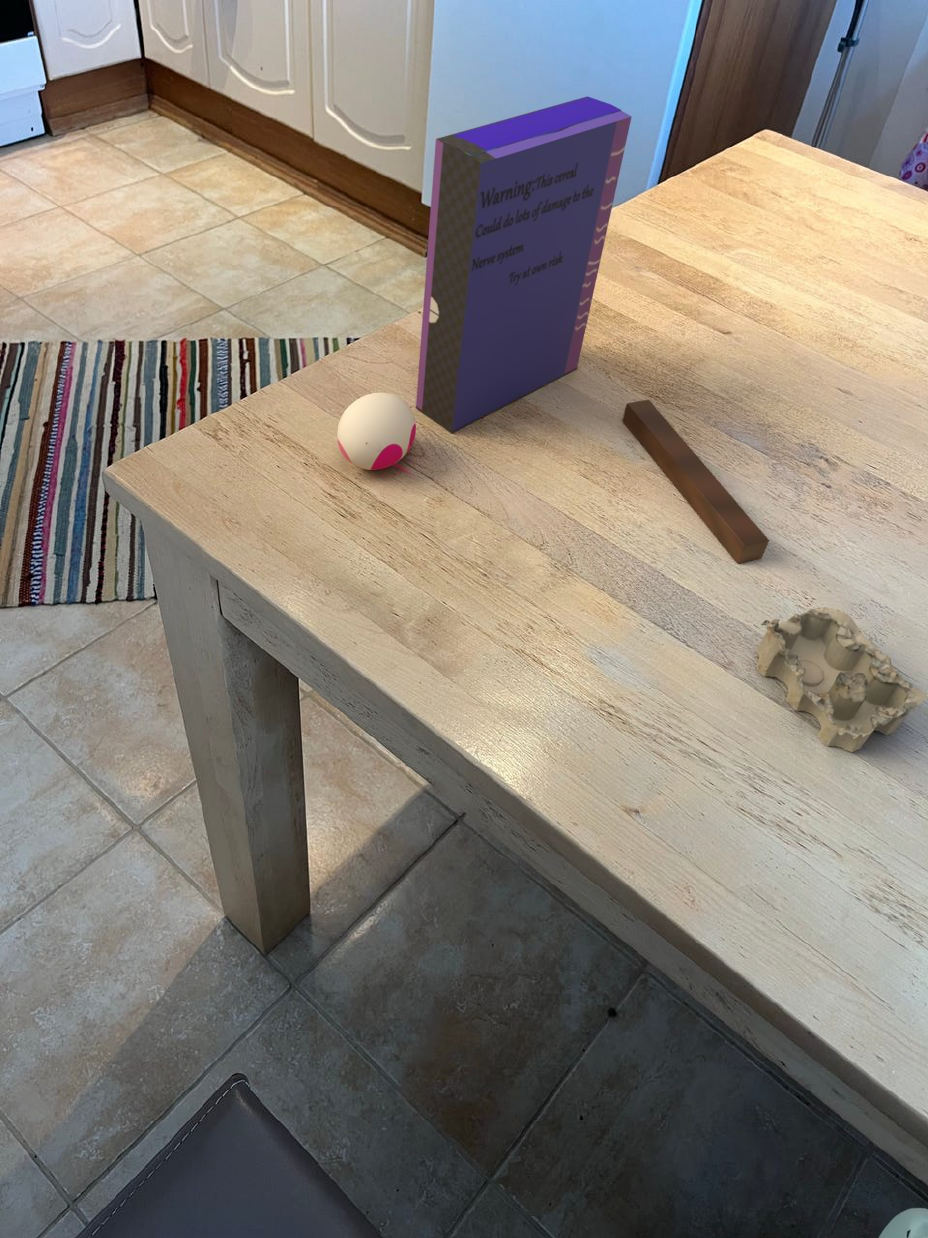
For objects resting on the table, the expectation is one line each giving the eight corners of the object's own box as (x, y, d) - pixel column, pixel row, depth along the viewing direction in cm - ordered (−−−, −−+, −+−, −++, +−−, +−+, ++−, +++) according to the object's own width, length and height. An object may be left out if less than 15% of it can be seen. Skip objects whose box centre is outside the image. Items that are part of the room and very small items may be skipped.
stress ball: (366, 516, 82) (403, 487, 76) (305, 443, 80) (338, 408, 75) (418, 472, 86) (457, 441, 80) (361, 401, 84) (396, 365, 79)
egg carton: (738, 652, 71) (756, 615, 68) (816, 626, 73) (836, 589, 70) (832, 764, 64) (855, 728, 61) (912, 731, 67) (939, 695, 64)
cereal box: (541, 347, 96) (587, 93, 79) (576, 369, 94) (632, 113, 77) (415, 408, 87) (436, 135, 70) (451, 433, 85) (481, 159, 68)
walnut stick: (761, 558, 78) (769, 540, 77) (737, 563, 77) (745, 546, 76) (643, 417, 90) (649, 399, 89) (621, 420, 89) (626, 402, 88)
